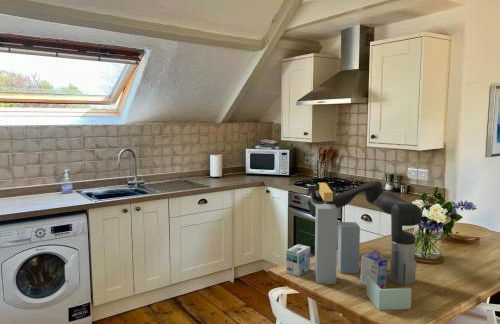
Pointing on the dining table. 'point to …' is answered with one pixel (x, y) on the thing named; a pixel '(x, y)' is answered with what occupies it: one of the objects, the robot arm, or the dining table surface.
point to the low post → (348, 247)
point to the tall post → (325, 243)
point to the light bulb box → (298, 260)
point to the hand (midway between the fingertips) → (323, 185)
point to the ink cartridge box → (374, 269)
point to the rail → (325, 192)
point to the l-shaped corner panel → (388, 296)
